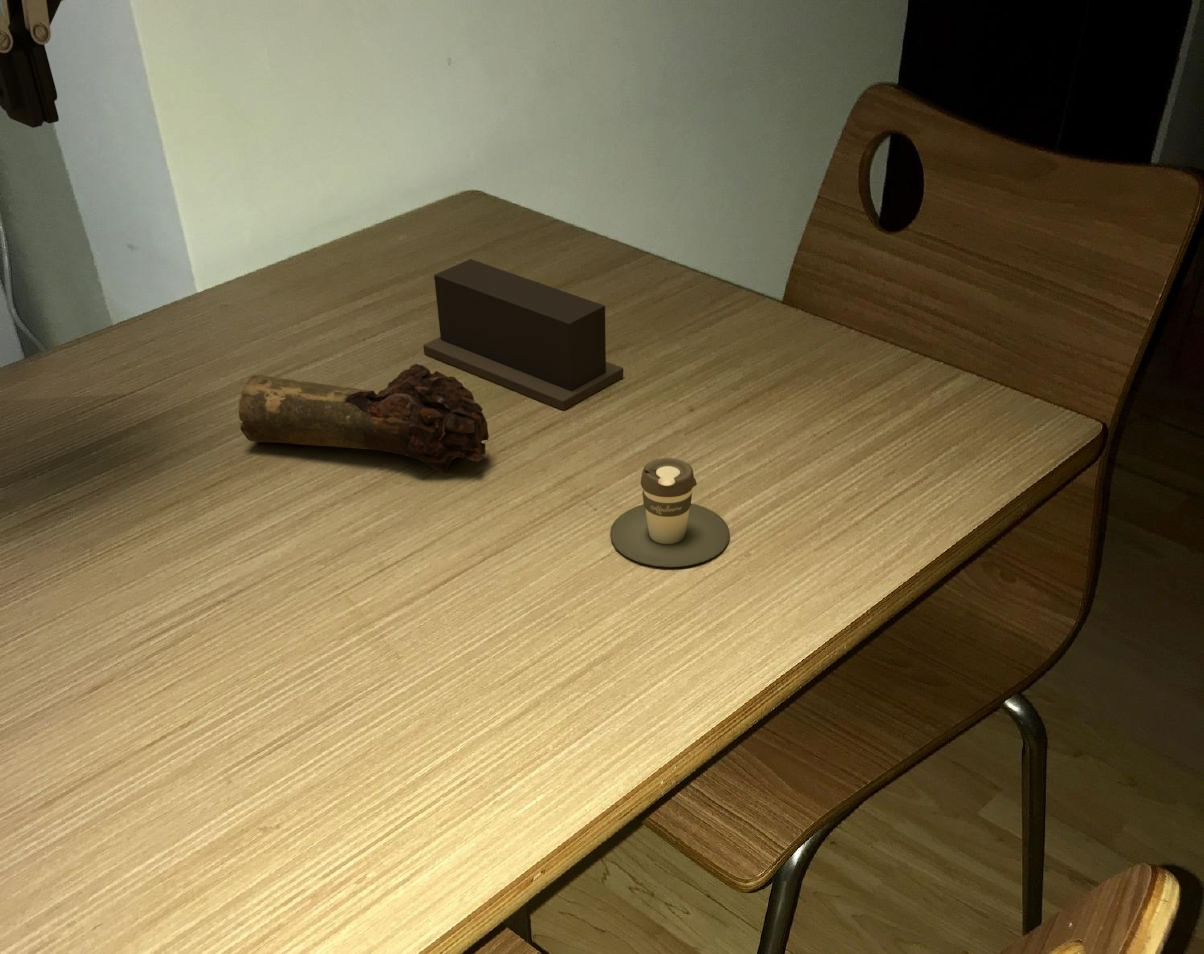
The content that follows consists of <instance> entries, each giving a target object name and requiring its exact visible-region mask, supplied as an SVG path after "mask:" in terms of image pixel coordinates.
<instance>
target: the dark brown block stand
mask: <svg viewBox="0 0 1204 954" xmlns="http://www.w3.org/2000/svg"><path fill="white" fill-rule="evenodd" d="M433 277H434V287H435V297H436V308H437V316H438V325H439V334H440V335H439V337H437V338H434V339H432V340H431V341H428V342H426V343H424V344H423V345H422V346H423V347H422V348H423V354H424V355H425V356H429V357H431V358H433V359H436V360H439V361H440V362H443V363H445V364H448V365H450V366H453V367H455V368H458V369H460V370H463V371H465V372H468V373H470V374H473V375H475V376H478V377H480V378H483V379H485V380H487V381H490V382H493V383H494V384H497V385H500V386H502V387H504V388H507V389H509V390H512V391H515V392H517V393H519V394H522V395H524V396H527V397H529V398H532V399H534V400H537V401H539V402H541V403H544V404H546V405H549V406H552V407H554V408H556V409H559V410H562V411H565V410H567V409H569V408H571V407H573V406H574V405H576V404H578V403H580V402H581V401H583V400H584V399H587V398H588V397H591V396H593V395H594V394H596V393H597V392H599V391H601V390H603V389H605V388H606V387H608V386H610V385H611V384H613V383H615V382H617V381H619V380H620V379H623V378H624V367H622V366H619V365H617V364H613V363H611V362H609V361H607V353H606V352H607V351H606V350H607V348H606V347H607V345H606V342H607V341H606V340H607V339H606V305H604V304H601V303H598V302H597V301H596V302H595V301H592V300H590V299H587V298H584V297H582V296H578V295H575V294H572V293H570V292H567V291H564V290H561V289H558V288H555V287H553V286H550V285H546V284H544V283H541V282H539V281H535V280H532V279H529V278H526V277H525V276H524V277H523V276H521V275H518V274H515V273H512V272H509V271H506V270H504V269H500V268H497V267H495V266H492V265H490V264H486V263H483V262H481V261H477V260H474V259H473V258H469V259H466V260H464V261H462V262H460V263H458V264H456V265H453V266H450V267H449V268H446V269H443V270H442V271H439V272H437V273H435V274H434V275H433Z"/></svg>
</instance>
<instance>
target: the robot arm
mask: <svg viewBox="0 0 1204 954" xmlns="http://www.w3.org/2000/svg"><path fill="white" fill-rule="evenodd" d="M1 1H2V8H3V9H2V10H3V12H2V10H1V8H0V108H1V109H2V110H3V111H4V112H6V115H7V117H8V118H9V119H11V120H13V121H15V122H18V123H20V124H23V125H25V126H28V127H30V128H33V129H35V128H38V127H42V126H43V123H47V124H49V125H50V124H54V123H57V122H59V121H60V118H59V113H58V110H57V106H56V101H57V100H58V92H57V87H56V84H55V80H54V76H53V73H52V68H51V64H50V61H49V57H48V53H47V50H46V46H45V45H46V44H48V43H49V41H50V40H51V37H52V32H51V31H52V30H51V25H52V22H53V20H54V18H55V16H56V14H57V12H58V10H59V7H60V5H61V2H63V1H64V0H1ZM3 14H4V15H3Z"/></svg>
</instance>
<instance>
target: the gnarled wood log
mask: <svg viewBox="0 0 1204 954" xmlns="http://www.w3.org/2000/svg"><path fill="white" fill-rule="evenodd" d="M237 408H238V419H239V420H240V421H241V422H239V427H240V428H239V429H240V431H241V433H242V435H243V436H244V437H245V438H246V439H247V441H249V442H256V443H277V444H289V445H303V446H304V445H305V446H314V447H315V446H316V447H335V448H336V447H337V448H346V449H347V448H348V449H362V450H372V451H373V450H374V451H383V452H387V453H392V454H398V455H401V456H406V457H409V458H412V459H415V460H419V461H422V462H423V463H425V464H426V465H428V466H430V467H431V468H433V469H434V470H437V471H439V472H441V473H447V472H448V470H449V468H450V467H449V466H450V465H451V463H452V460H455V459H456V458H457V457H458V458H466V459H467V460H470V461H477V462H478V461H482V458H483V456H484V455H485V454H486V443H484V442H483V441H488V440H489V439H490V435H489V429H488V427H489V426H488V422H487V419H486V417H485V415H484V412H483V408H482V406H481V405H480V404H479V403H478V402H476V401H475V398H474V394H473V393H472V391H471V390H469V389H468V388H466V387H465V386H464V385H463V383H462V382H460V380H457V378H456V377H455V376H446V374H443V373H442V372H439V371H437V370H435V371H434V372H433V373H431V371H430V369H429V368H427V367H426V366H424V365H423V364H422V365H421V364H418V363H414V364H412V365H410V367H409V368H408V369H403V371H401V372H400V373H399V374H398V375H397V377H395V378H394V379H392V381H390V382H388V385H387V387H386V388H384V389H381V390H379V391H378V393H377V394H376V392H375V390H367V389H361V388H356V387H355V388H354V387H344V386H339V385H333V384H332V385H331V384H325V383H324V384H323V383H318V382H311V381H303V380H301V381H300V380H297V379H296V380H295V379H288V378H283V377H282V378H281V377H275V376H269V375H262V374H258V375H256V374H253V375H251V376H249V378H248V379H247V381H246V382H245V385H243V388H242V391H241V393H240V396H239V399H238V406H237Z"/></svg>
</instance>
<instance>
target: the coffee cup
mask: <svg viewBox="0 0 1204 954" xmlns="http://www.w3.org/2000/svg"><path fill="white" fill-rule="evenodd" d="M697 484H698V483H697V479H696V478H695V475H694V469H693V467H692V466H691V465H690V463H688V462H686V461H684V460H682V459H679V458H675V457H674V458H673V457H663V458H657V459H653V460H651V461H649V462H647V463H646V464H645V465H644V466H643V469H642V472H641V478H640V486H641V488H642V502H643V504H640V505H637V506H634V507H632V508H630V509H628V510H626V511H624V512H623V513H622V514H620V515H619V516H618V517H617V518H615V520H614V522H613V523H612V525H611V526H610V532H609V536H610V541H611V543H612V545H613V547H614V548H615V550H616V551H617V552H618V553H619V554H620V555H621V556H622V557H624V558H626V559H628V560H630V561H632V562H635V563H637V564H641V565H643V566H649V567H656V568H662V569H673V568H676V569H677V568H678V569H680V568H689V567H694V566H697V565H701V564H704V563H706V562H708V561H710V560H713V559H715V558H716V557H717V556H719V555H720V554H721V553H722V552H723V551H724V550H725V548H726V547H727V546H728V544H729V541H730V537H731V536H730V533H731V532H730V529H729V526H728V523H727V522H726V520H725V519H724V518H722V516H720V515H719V514H718V513H717V512H715V511H713V510H711V509H710V508H708V507H705V506H702V505H699V504H696V503H692V498H693V488H694V487H696V486H697Z"/></svg>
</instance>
